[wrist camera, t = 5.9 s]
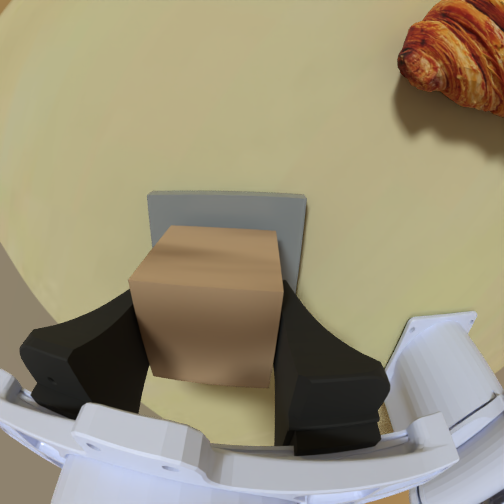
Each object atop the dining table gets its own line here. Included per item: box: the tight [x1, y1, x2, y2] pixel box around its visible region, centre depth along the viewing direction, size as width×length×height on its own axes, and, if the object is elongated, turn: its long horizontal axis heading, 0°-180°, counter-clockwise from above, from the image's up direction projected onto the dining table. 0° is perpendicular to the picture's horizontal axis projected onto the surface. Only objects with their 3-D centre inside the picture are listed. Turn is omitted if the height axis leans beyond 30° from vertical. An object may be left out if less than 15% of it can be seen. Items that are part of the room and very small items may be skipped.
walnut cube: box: [128, 225, 284, 388], centre depth 12 cm, size 5×5×5 cm
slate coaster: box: [147, 191, 307, 293], centre depth 15 cm, size 8×8×1 cm
